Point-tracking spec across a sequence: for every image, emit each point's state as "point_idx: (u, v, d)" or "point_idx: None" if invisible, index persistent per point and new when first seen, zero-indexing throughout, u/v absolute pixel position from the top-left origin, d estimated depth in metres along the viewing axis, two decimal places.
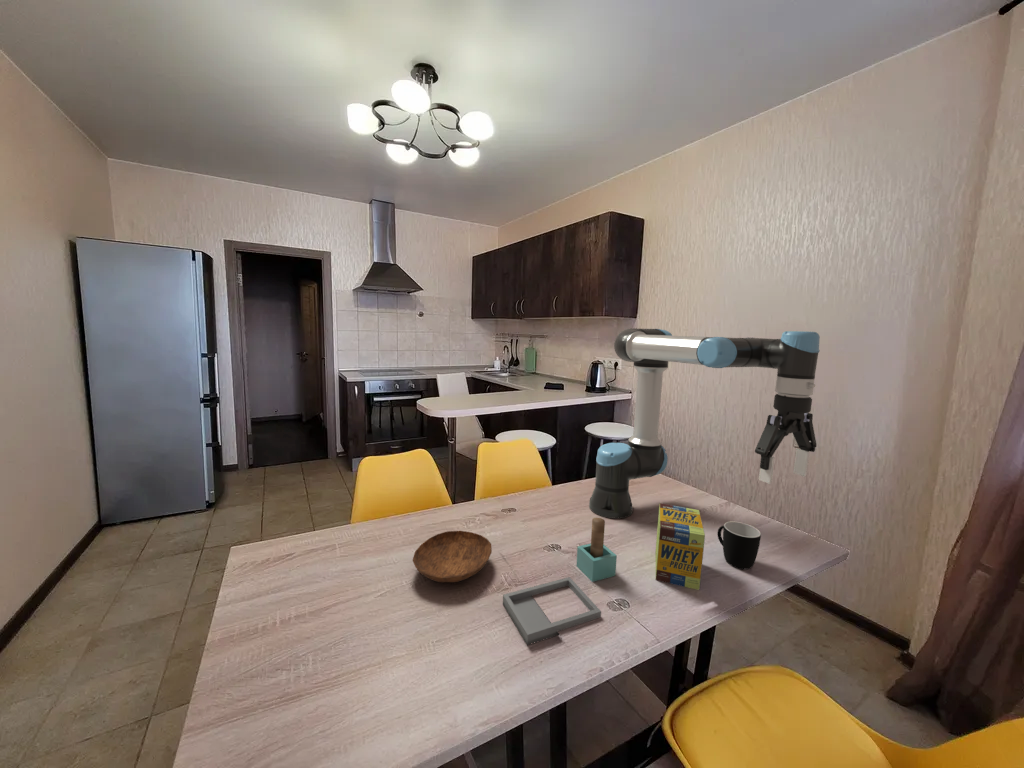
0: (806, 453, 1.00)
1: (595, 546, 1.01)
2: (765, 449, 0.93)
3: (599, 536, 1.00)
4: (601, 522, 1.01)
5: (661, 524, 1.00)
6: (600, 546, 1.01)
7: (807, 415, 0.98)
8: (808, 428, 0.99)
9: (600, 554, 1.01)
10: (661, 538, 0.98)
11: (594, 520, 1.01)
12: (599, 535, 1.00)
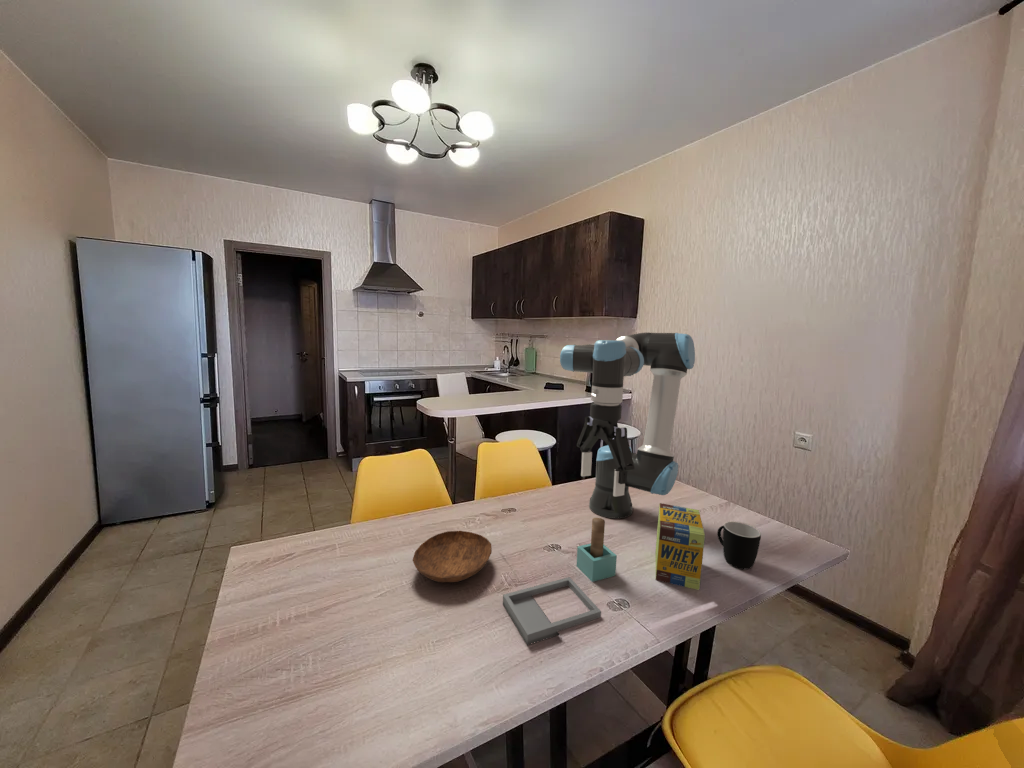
0: None
1: (595, 546, 1.01)
2: None
3: (599, 536, 1.00)
4: (601, 522, 1.01)
5: (661, 524, 1.00)
6: (600, 546, 1.01)
7: None
8: None
9: (600, 554, 1.01)
10: (661, 538, 0.98)
11: (594, 520, 1.01)
12: (599, 535, 1.00)
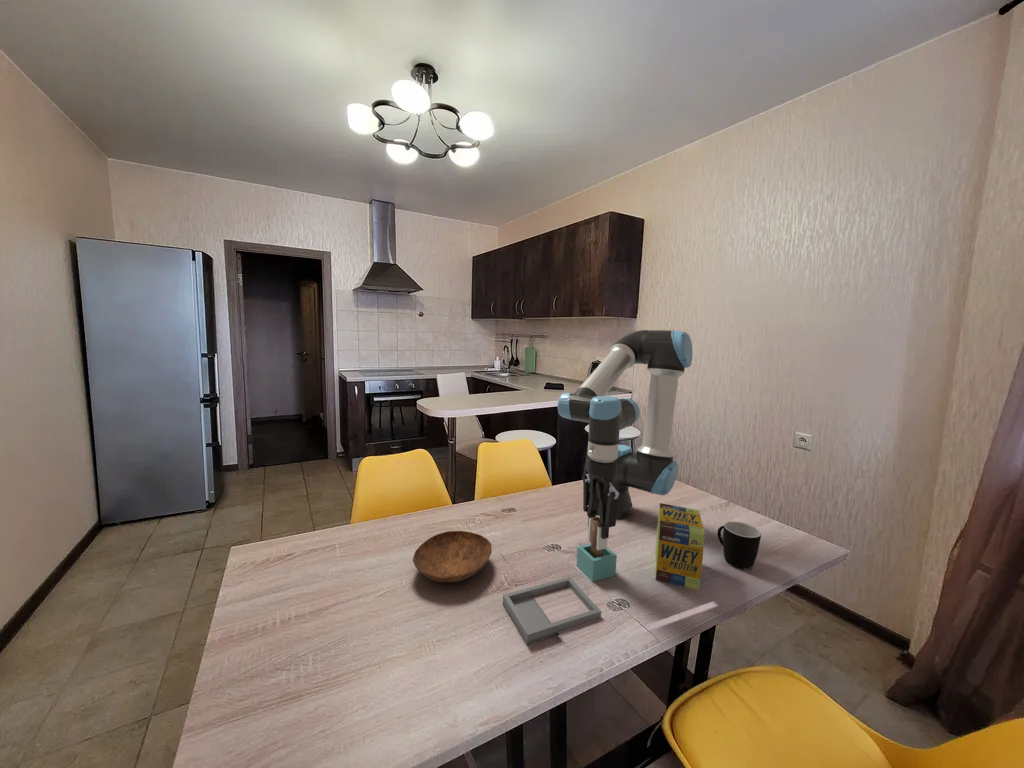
0: None
1: (595, 546, 1.01)
2: None
3: None
4: None
5: (661, 524, 1.00)
6: None
7: None
8: None
9: (600, 554, 1.01)
10: (661, 538, 0.98)
11: (594, 520, 1.01)
12: None
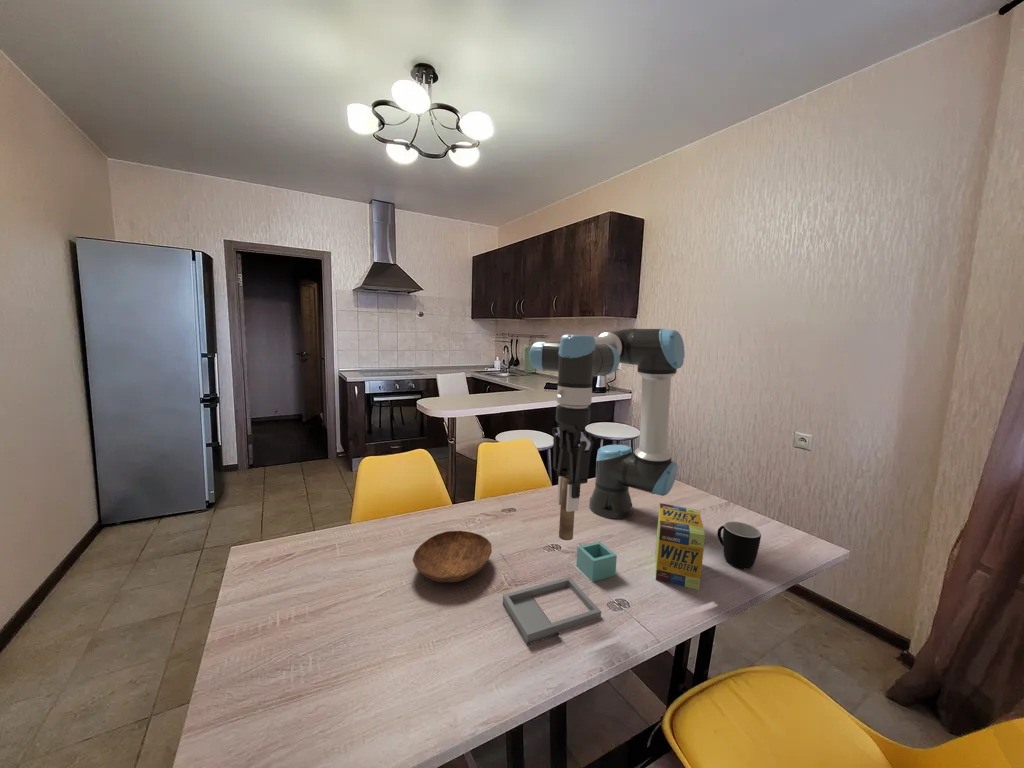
0: None
1: (565, 507, 0.88)
2: None
3: None
4: None
5: (661, 524, 1.00)
6: None
7: None
8: None
9: (571, 517, 0.88)
10: (661, 538, 0.98)
11: (564, 477, 0.89)
12: None
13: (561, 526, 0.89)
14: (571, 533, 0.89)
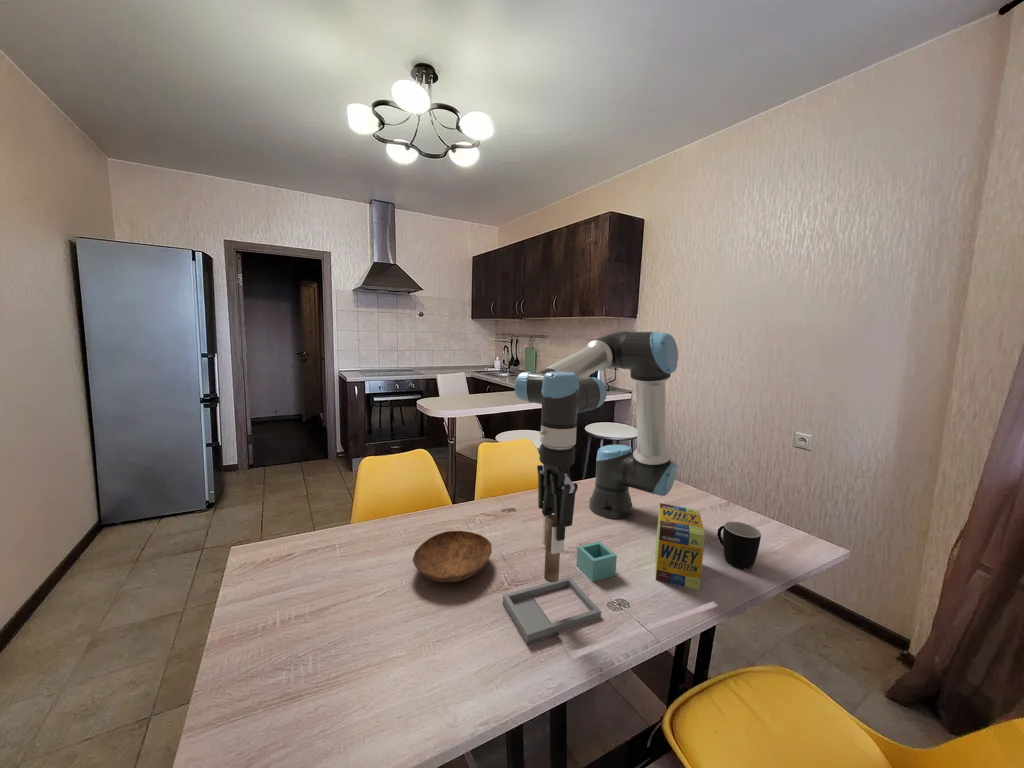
0: None
1: (550, 549, 0.85)
2: None
3: None
4: None
5: (661, 524, 1.00)
6: None
7: None
8: None
9: (556, 558, 0.86)
10: (661, 538, 0.98)
11: (549, 518, 0.86)
12: None
13: (546, 567, 0.86)
14: (556, 575, 0.86)
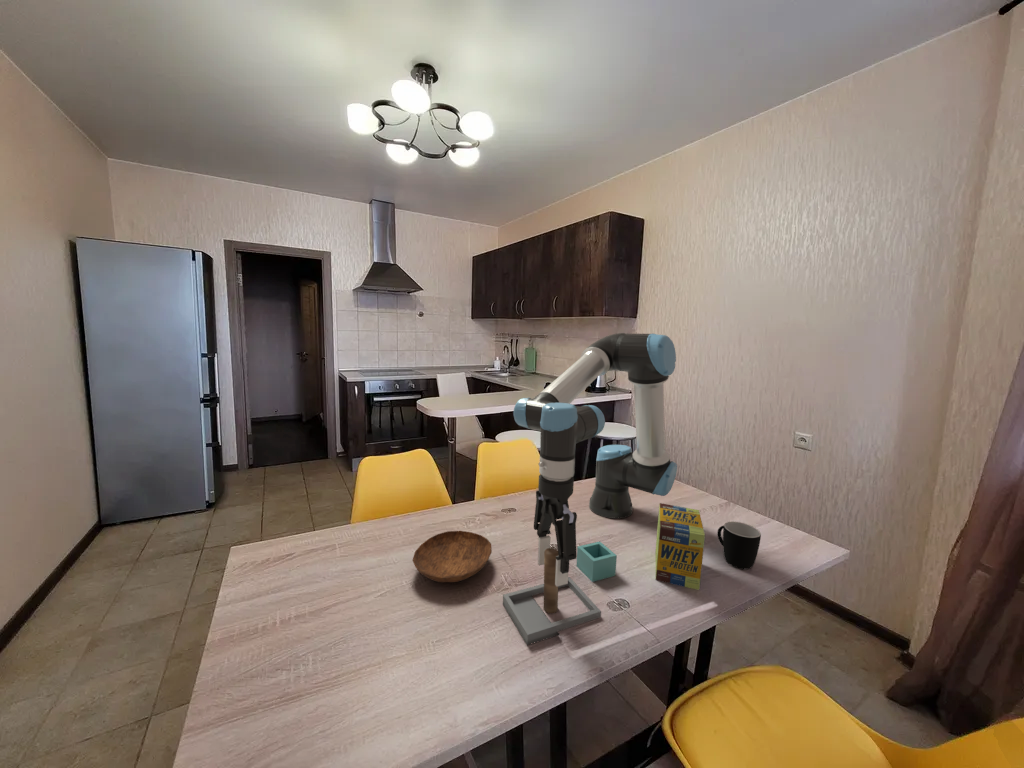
0: None
1: (548, 582, 0.86)
2: None
3: (552, 571, 0.86)
4: (554, 554, 0.86)
5: (661, 524, 1.00)
6: (554, 582, 0.86)
7: None
8: None
9: (554, 591, 0.87)
10: (661, 538, 0.98)
11: (546, 552, 0.87)
12: (552, 569, 0.86)
13: (545, 600, 0.88)
14: (555, 606, 0.88)
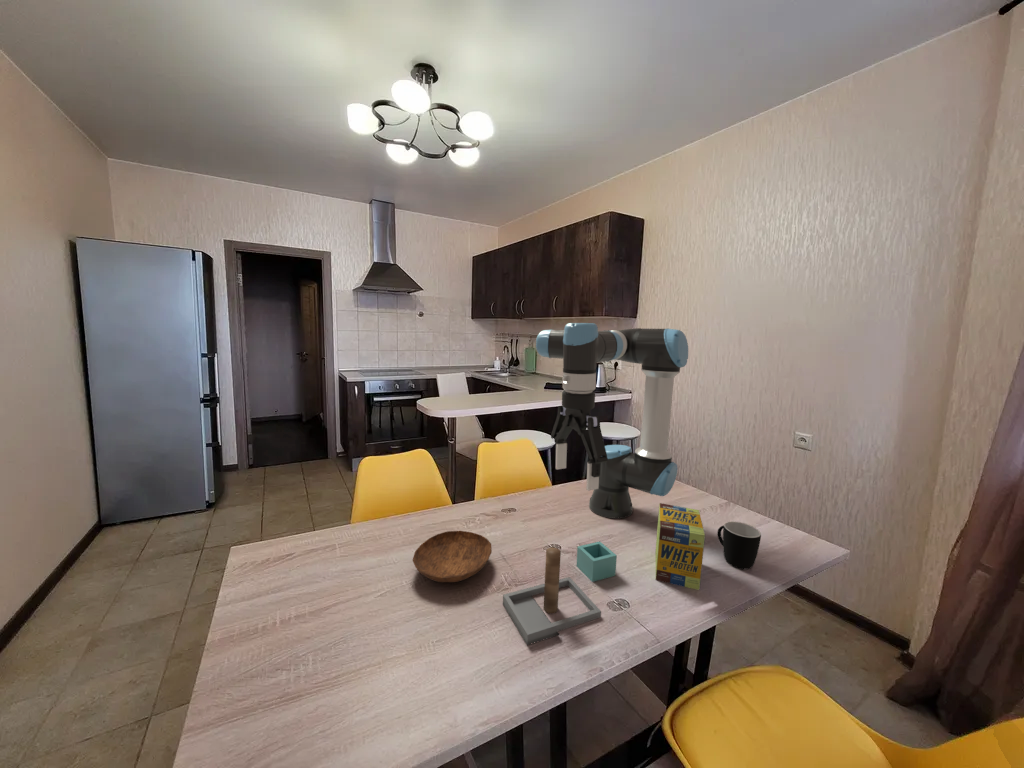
0: None
1: (549, 581, 0.87)
2: None
3: (554, 570, 0.86)
4: (556, 554, 0.86)
5: (661, 524, 1.00)
6: (555, 582, 0.86)
7: None
8: None
9: (555, 591, 0.87)
10: (661, 538, 0.98)
11: (548, 551, 0.87)
12: (554, 569, 0.86)
13: (545, 599, 0.88)
14: (555, 607, 0.88)
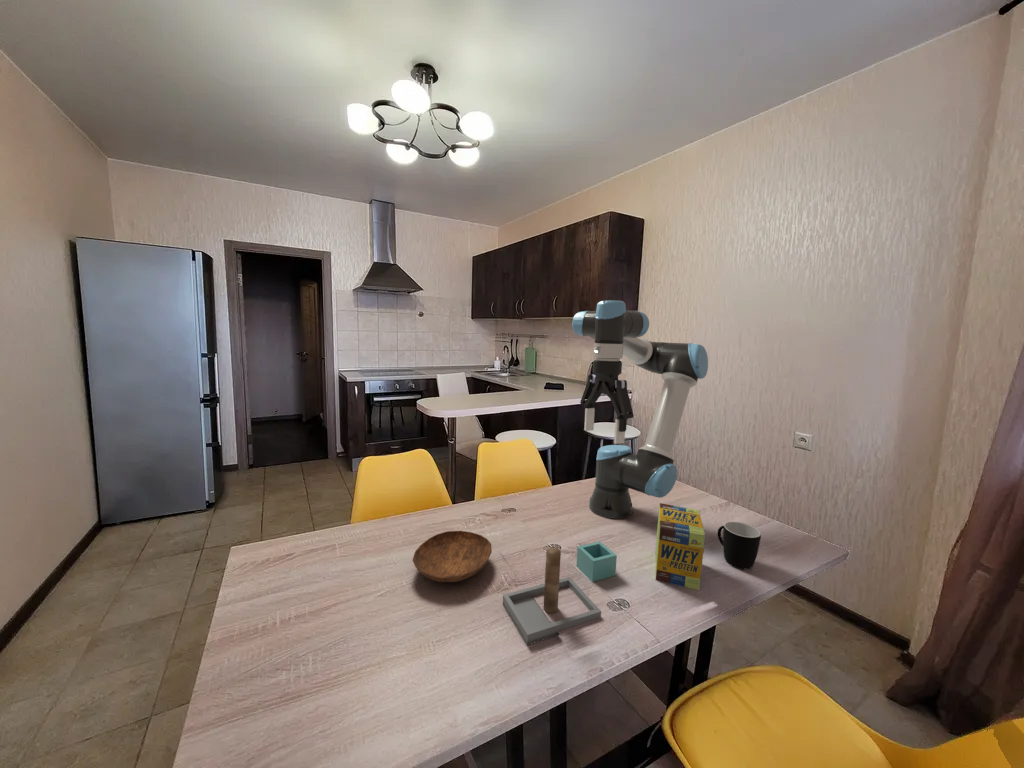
0: None
1: (549, 581, 0.87)
2: None
3: (554, 570, 0.86)
4: (556, 554, 0.86)
5: (661, 524, 1.00)
6: (555, 582, 0.86)
7: None
8: None
9: (555, 591, 0.87)
10: (661, 538, 0.98)
11: (548, 551, 0.87)
12: (554, 569, 0.86)
13: (545, 599, 0.88)
14: (555, 607, 0.88)
